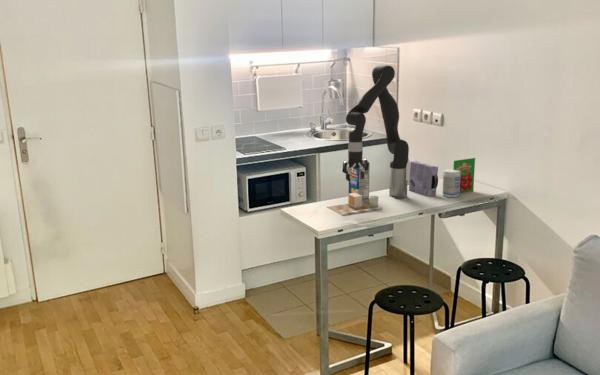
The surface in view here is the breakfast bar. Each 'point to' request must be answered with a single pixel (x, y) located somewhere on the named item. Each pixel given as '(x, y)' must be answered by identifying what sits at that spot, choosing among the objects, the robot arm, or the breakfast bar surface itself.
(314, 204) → the breakfast bar surface
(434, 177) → the cake pan box
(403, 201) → the breakfast bar surface
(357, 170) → the beverage box
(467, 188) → the tomato puree packet
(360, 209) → the board
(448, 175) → the supplement tub
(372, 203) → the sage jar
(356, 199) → the cream block
